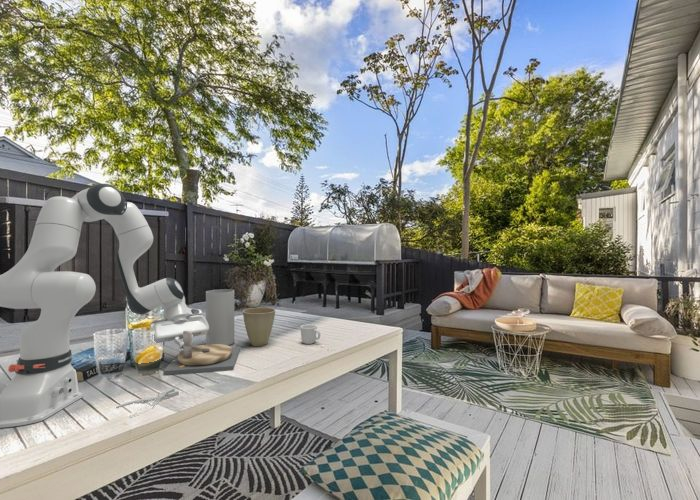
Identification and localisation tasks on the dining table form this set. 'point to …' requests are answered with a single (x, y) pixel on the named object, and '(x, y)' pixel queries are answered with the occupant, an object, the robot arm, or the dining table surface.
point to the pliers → (160, 397)
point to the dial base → (219, 366)
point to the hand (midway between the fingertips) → (186, 346)
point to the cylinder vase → (220, 316)
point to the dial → (202, 352)
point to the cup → (309, 333)
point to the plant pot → (258, 324)
